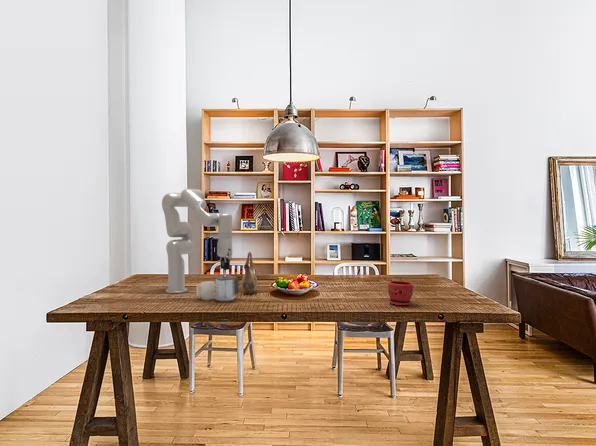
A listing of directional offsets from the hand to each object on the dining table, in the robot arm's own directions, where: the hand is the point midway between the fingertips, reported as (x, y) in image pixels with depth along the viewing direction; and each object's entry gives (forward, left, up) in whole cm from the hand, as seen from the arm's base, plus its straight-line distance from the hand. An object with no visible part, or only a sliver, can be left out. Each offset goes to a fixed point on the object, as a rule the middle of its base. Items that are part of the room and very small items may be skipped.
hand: (225, 268), depth 221 cm
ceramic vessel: (-8, +20, -18) cm, 28 cm away
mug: (-10, -7, -18) cm, 21 cm away
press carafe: (0, +1, -17) cm, 18 cm away
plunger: (0, 0, -12) cm, 12 cm away
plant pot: (+62, +73, -18) cm, 97 cm away
